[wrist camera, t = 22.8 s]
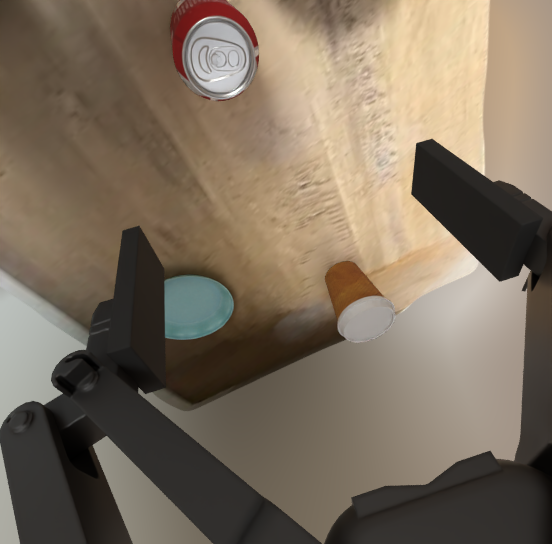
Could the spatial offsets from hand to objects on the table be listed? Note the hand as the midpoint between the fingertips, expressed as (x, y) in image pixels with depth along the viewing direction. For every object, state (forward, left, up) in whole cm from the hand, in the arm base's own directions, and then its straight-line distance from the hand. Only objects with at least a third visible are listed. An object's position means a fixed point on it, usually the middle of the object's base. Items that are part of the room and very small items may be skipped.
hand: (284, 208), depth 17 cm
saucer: (+9, -34, -29) cm, 46 cm away
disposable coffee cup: (+33, -21, -29) cm, 49 cm away
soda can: (-2, +2, -29) cm, 29 cm away
